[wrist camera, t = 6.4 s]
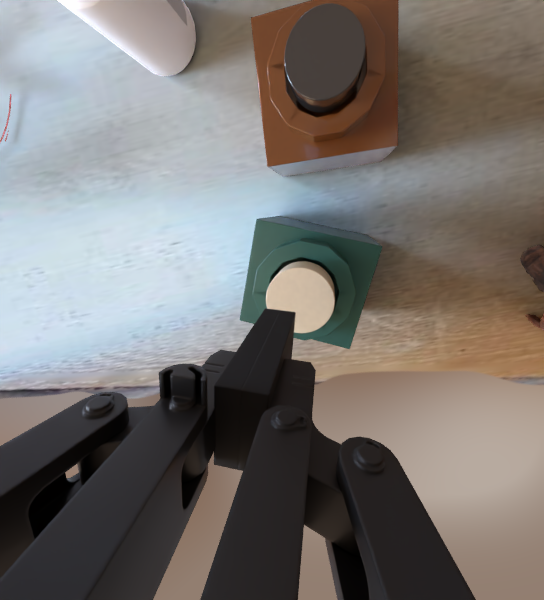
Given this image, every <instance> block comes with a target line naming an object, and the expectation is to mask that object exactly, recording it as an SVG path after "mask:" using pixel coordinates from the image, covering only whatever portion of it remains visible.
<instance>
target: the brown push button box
mask: <svg viewBox="0 0 544 600" xmlns="http://www.w3.org/2000/svg"><path fill="white" fill-rule="evenodd" d="M326 3H334V4H339V5H342V6H344V7H346V8H348V9H349V10H351V11H352V12H353V13H354V14H355V15H356V16H357V18H358V19H359V21H360V23H361V25H362V27H363V30H364V35H365V42H366V49H365V57H364V62H363V66H362V71H361V76H360V80H359V83H358V85H357V87H356V89H355V91H354V93H353V94H352V96H351V97H350V98H349V99H348V101H347V102H345V103H344V104H343V105H342V106H341V107H339V108H337V109H335V110H333V111H330V112H326V113H316V112H312V111H309V110H307V109H306V108H304V107H303V106H302V105H301V104H300V103H299V102H298V101H297V100H296V98H295V96H294V94H293V92H292V89H291V86H290V83H289V80H288V77H287V74H286V70H285V64H284V54H285V47H286V43H287V39H288V37H289V34H290V32H291V30H292V28H293V27H294V25H295V24H296V22H297V21H298V20H299V19H300V17H301V16H302V15H304V14H305V13H306V12H307V11H309V10H310V9H312V8H314V7H315V6H318V5H321V4H326ZM251 25H252V34H253V43H254V51H255V60H256V69H257V78H258V87H259V96H260V105H261V113H262V122H263V131H264V140H265V149H266V158H267V166H268V167H269V168H270V169H272V170H273V171H275V172H276V173H278V174H279V175H281V176H283V177H286V176H293V175H300V174H306V173H313V172H319V171H326V170H332V169H339V168H345V167H352V166H358V165H365V164H371V163H378V162H381V161H382V160H383V159H384V158H385V157H386V156H387V155H388V154H389V153H390V152H392V151H393V150H394V149H395V148H396V147H397V146H398V0H311V1H307V2H304V3H300V4H297V5H293V6H290V7H286V8H283V9H279V10H276V11H272V12H269V13H265V14H262V15H258V16H255V17H251Z"/></svg>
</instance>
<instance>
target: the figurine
mask: <svg viewBox="0 0 544 600" xmlns="http://www.w3.org/2000/svg"><path fill="white" fill-rule="evenodd" d="M10 109H11V94H10V104H9V114H8V119H7V124H6V127H5V130H4V133H3V135H2V138H1V140H2V139H3V136H4V134H5V131H6V128H7V125H8V120H9V115H10ZM8 132H9V131H8ZM7 135H8V133H7ZM6 139H7V136H6ZM6 139H5V141H6ZM1 140H0V142H1Z"/></svg>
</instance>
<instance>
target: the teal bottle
mask: <svg viewBox="0 0 544 600" xmlns="http://www.w3.org/2000/svg"><path fill="white" fill-rule="evenodd" d="M381 250H382V246H381V245H380V244H379V243H377V242H376V241H375V240H373V239H372V238H371V237H369V236H368V235H365V234H360V233H356V232H351V231H346V230H342V229H337V228H332V227H327V226H323V225H318V224H313V223H309V222H304V221H299V220H295V219H290V218H285V217H280V216H276V217H269V218H261V219H257V220H256V225H255V231H254V237H253V243H252V249H251V255H250V261H249V267H248V273H247V279H246V285H245V291H244V297H243V303H242V309H241V315H240V320H241V321H245V322H249V323H253V324H255V323H256V321H257V320H258V318H259V317H260V315H261V314H262V312H263V311H264V309H265V308H266V309H267V306H266V293H267V289H268V287H269V285H270V283H271V281H272V280H273V279H274V278H275V276H276V275H277V274H278V273H279V272H280V271H281V270H282V269H283V268H284V267H285V266H287V265H289V264H291V263H294V262H298V261H307V262H312V263H315V264H317V265H319V266H321V267H322V268H323V269H324V270H325V271H326V272H327V273H328V274H329V275H330V277H331V279H332V281H333V284H334V292H335V305H334V310H333V313H332V315H331V317H330V319H329V320H328V321H327V322H326V323H325V324H324V325H323V326H322V327H320V328H319V329H317V330H315V331H312V332H308V333H295V332H294V336H293V338H297V339H301V340H308V339H313V340H317V341H321V342H325V343H328V344H332V345H336V346H340V347H344V348H347V349H350V346H351V343H352V340H353V337H354V334H355V331H356V328H357V324H358V321H359V318H360V315H361V312H362V309H363V306H364V303H365V300H366V296H367V293H368V290H369V287H370V284H371V281H372V278H373V275H374V271H375V268H376V265H377V262H378V259H379V256H380V253H381Z"/></svg>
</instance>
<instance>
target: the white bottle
mask: <svg viewBox="0 0 544 600" xmlns="http://www.w3.org/2000/svg"><path fill="white" fill-rule="evenodd" d="M57 1H59V2H60V3H61V4H63V5H64V6H65V7H67V8H68V9H69V10H71V11H72V12H73V13H75V14H76V15H77V16H78V17H80V18H81V19H82V20H84V21H85V22H86V23H88V24H89V25H90V26H92V27H93V28H94V29H96V30H97V31H98V32H100V33H101V34H102V35H103V36H105V37H106V38H107V39H109V40H110V41H111V42H113V43H114V44H115V45H117V46H118V47H119V48H121V49H122V50H123V51H125V52H126V53H127V54H129V55H130V56H131V57H132V58H134V59H135V60H136V61H138V62H139V63H140V64H142V65H143V66H144V67H146V68H147V69H148V70H150V71H151V72H153V73H154V74H156V75H160V76H164V77H165V76H172V75H176V74H177V73H179V72H181V71H182V70H183V69H184V68H185V67H186V66H187V65H188V63H189V62H190V60H191V58H192V55H193V53H194V49H195V42H196V33H195V23H194V21H193V18H192V15H191V12H190V10H189V9H188V7H187V6H186V5H185V3H184V2H183V0H57Z"/></svg>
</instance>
